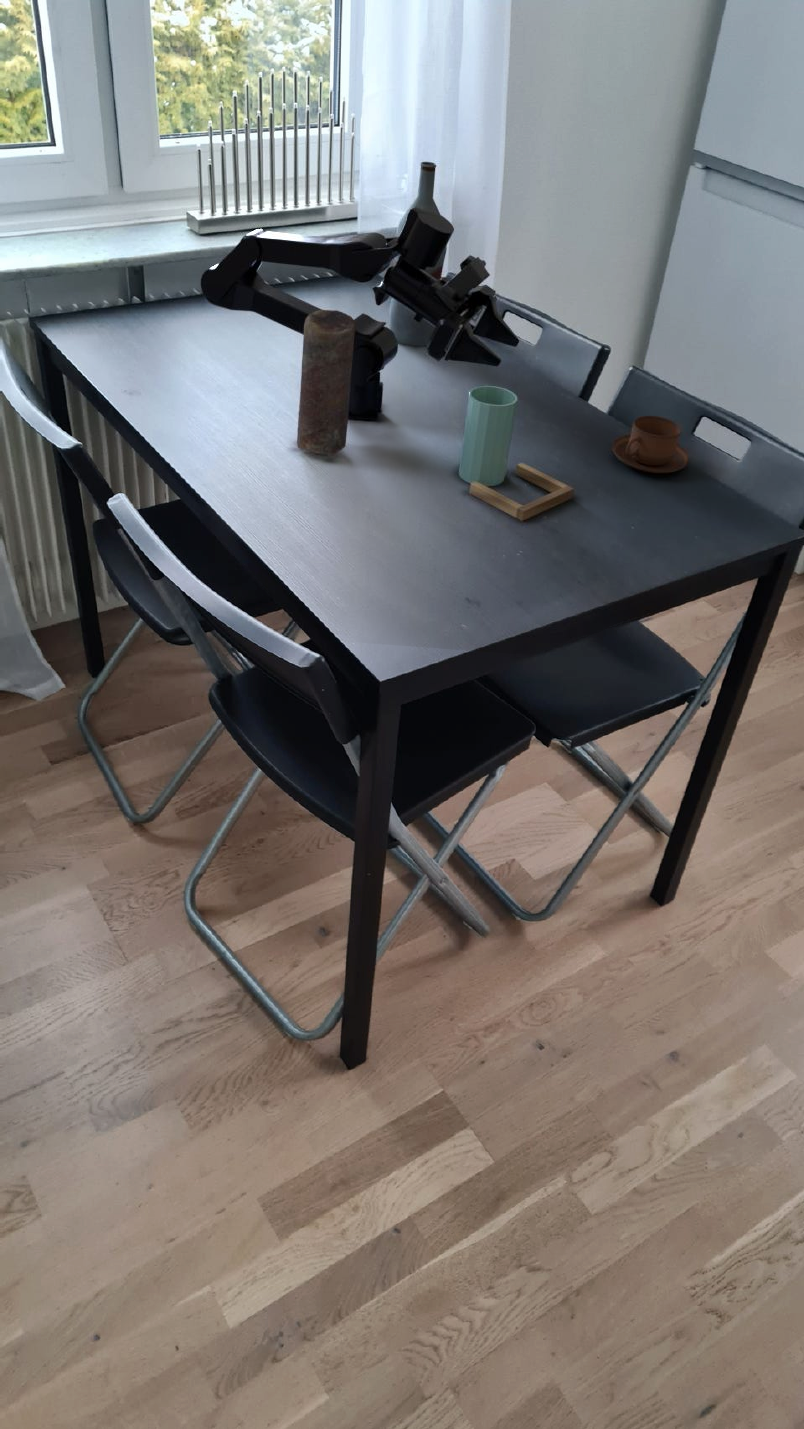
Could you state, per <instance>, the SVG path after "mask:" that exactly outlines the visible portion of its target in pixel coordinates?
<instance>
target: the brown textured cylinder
mask: <svg viewBox="0 0 804 1429" xmlns="http://www.w3.org/2000/svg"><path fill="white" fill-rule="evenodd" d="M354 319H355V318H353V317H352V316H351V315H348V314H347V313H345V312H343V311H340V310H338V309H335V310H334V309H332V310H331V309H322V310H320V311H315V312H313V313H312V314H309V315H308V317H307V318H306V320H305V324H304V335H302V337H303V338H302V340H303V341H302V357H301V372H300V373H301V374H300V390H299V391H300V392H299V406H298V417H297V418H298V419H297V432H296V433H297V434H296V446H297V448H298V449H299V450H300V451H303V452H306V453H307V452H308V453H312V454H315V455H316V456H321V457H328V456H330V455H335V454H337V453H338V452H340V451H342V450H343V449H345V448H346V445H347V435H348V434H347V433H348V424H349V423H348V422H349V418H348V410H349V397H350V383H351V369H352V358H353V346H354V334H355V322H354Z"/></svg>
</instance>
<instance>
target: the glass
mask: <svg viewBox="0 0 804 1429" xmlns="http://www.w3.org/2000/svg"><path fill="white" fill-rule="evenodd" d="M518 399H519V398H518V395H517V394H516V393H514V392H513V391H511V390H510V389H507V388H504V387H500V386H494V385H481V386H476V387H472V388H471V389H470V390H469V391H468V397H467V404H466V411H465V420H464V426H463V436H462V442H461V451H460V458H459V465H458V476H459V478H461V479H462V480H463V481H464V482H466V483H468V484H470V485H471V483H473V482H475V481H477V482H479V483H480V484H482V485H484V486H486V487H495V486H498V485H500V484H502V483H503V482H504V481H505V478H506V475H507V468H508V463H509V462H508V461H509V457H510V456H509V455H510V451H511V450H510V449H511V443H512V437H513V432H514V424H515V418H516V413H517V405H518V401H519V400H518Z"/></svg>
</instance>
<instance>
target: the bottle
mask: <svg viewBox="0 0 804 1429" xmlns="http://www.w3.org/2000/svg"><path fill="white" fill-rule="evenodd" d="M419 165H420V168H419V178H418V179H419V180H418V188H417V196H416V197H415V199H414V200H413V202H412V203H411V204H410V206H409V207H408V209H407V210H406V212H405V213H404V214H403V216H402V218H400V220H399V222H398V225H397V228H396V234H395V237H399V236H400V233H401V231H402V229H403V227H404V225H405V223H406V218H407V215H408V213H409V211H410V209H412V208H414V207H416V206H417V207H418V208H420V209H421V210H426V211H430V212H433V213H435V214H437V215H438V214H440V215H441V213H440V210H439V208H438V206H437V204H436V201H435V199H434V191H435V179H436V169H437V164H436V163H435V162H432V161H421V162H420V164H419ZM447 247H448V245H447V246H446V248H445V250H444V252H443V254H442V256H441V258H440V260H439V262H438V264H437V265H436V267H428V268H427V269H426V270H423V271H425V272H426V273H428V274H429V275H431V276H432V277H434V278H435V279H436V280H438V279H440V278H441V277H442V275H443V269H444V263H445V259H446V255H447V251H448V250H447V249H448V248H447ZM400 255H401V254H400ZM400 255H398V256H397V257H395V258H394V266H395V265H396V263H397V261H398V259H399V257H400ZM389 305H390V306H389V310H388V328H389V329H390V330H392V331H393V332H394V334H395V337H396V339H397V343H398V344H402V345H406V346H413V347H420V346H422V347H423V346H426V345H427V343H428V341H429V339H430V337H431V335H432V333H433V331H434V329H435V327H434V326H432V325H431V324H429V323H428V322H426V321H425V320H424V319H423V320H422V321H421V322H420V323H419V322H417V321H416V320H414V317H415V315H416V314H415V313H413V312H412V311H410V310H409V309H407V308H406V307H404V306H403V305H402V304H400V303H399V302H397V301H396V300H394V299H393V298H391V300H390V304H389Z"/></svg>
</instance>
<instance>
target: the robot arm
mask: <svg viewBox="0 0 804 1429" xmlns="http://www.w3.org/2000/svg"><path fill="white" fill-rule="evenodd" d="M454 231H455V228H454V226H453V224H452V222H450V221H449V220H448V219H447V218H446V217H445V216H443V215H442V214H441V213H440V214H438V215H437V214H435V213H433V212H430V211H426V210H421V209H420V208H418V207H417V206H416V207H414V208H412V209H410V211H409V213H408V215H407V218H406V223H405V225H404V227H403V229H402V231H401V233H400V236H399V237H396V236H392V237H391V236H390V237H386V236H385V235H383V234H381V233H379V232H372V231H371V232H364V233H363V232H362V233H354V234H350V235H344V236H337V237H326V236H318V235H317V236H316V235H305V234H297V233H285V232H275V231H268V230H265V229H262V228H260V229H259V228H258V229H255V230H253V231H251V232H249V233H247V234H245V235H244V236H242V238H241V239H240V241H239V242H238V243H237V245H236V246H235V247H234V248H233V249H232V250H231V251H230V252H229V253H228V254H227V255H226V256H224V258H223V259H222V260H221V261H220V262H219V263H217V264H215V265H214V266H211V267H210V268H208V269H205V271H204V272H203V273H202V275H201V277H200V288H201V292H202V294H203V296H204V299H205V301H206V302H208V303H209V304H211V305H212V306H214V307H218V308H222V309H227V310H230V311H237V312H239V311H240V312H252V313H255V314H258V315H260V316H261V317H263V318H266V319H268V320H270V321H272V322H274V323H276V324H279V325H281V326H283V327H286V328H288V329H289V330H292V331H294V332H296V333H298V334H299V335H300V334H301V335H302V336H304V324H305V320H306V318H307V317H308V315H309V314H312V313H313V312H315V311H320V310H323V309H322V308H321V307H320V308H319V307H318V306H316V305H313V304H311V303H309V302H307V301H305V300H302V299H300V298H298V297H296V296H294V295H292V294H289V293H288V292H285V291H283V290H281V289H278V288H276V287H275V286H272V285H270V284H268V283H267V282H266V281H265V280H264V279H263V277H262V276H261V275H260V274H259V273H258V271H259V269H261V266H262V264H263V263H273V264H281V265H290V266H298V267H299V266H300V267H306V268H307V267H309V268H317V269H325V270H328V271H331V272H333V273H335V274H336V275H338V276H339V277H341V278H344V279H347V280H351V281H354V282H357V283H361V284H362V283H368V282H370V281H372V280H373V279H375V278H376V277H377V276H379V275H380V274H382V273H383V272H385V274H384V275H383V278H382V280H381V282H377V283H376V284H375V285H374V286H372V291H373V293H374V300H375V304H376V306H382V304H383V303H386V301H388V300H389V298H390V299H392V298H393V299H394V300H396V301H397V302H399V303H400V304H402V305H403V306H404V307H406V308H407V309H409V310H410V311H412V312H413V313H415V314H416V315H415V317H414V320H416V321H417V322H419V323H420V322H421V321H422V320H423V319H424V320H425V321H426V322H428V323H429V324H431V325H432V326H434V327H435V329H434V331H433V333H432V335H431V337H430V339H429V341H428V343H427V345H425V348H426V351H427V356H430V357H431V358H432V359H434V360H435V361H437V362H441V360H442V359H443V361H445V362H448V361H451V362H453V361H454V362H461V363H462V362H463V363H471V364H478V365H484V366H491V367H499V366H500V364H501V363H502V359H501V357H499V355H497V354H496V353H495V352H494V351H493V350H492V349H490V347H488V346H487V345H486V344H485V343H484V342H482V341H481V340H480V339H479V338H478V337H481V338H483V339H487V340H491V341H493V342H497V343H500V344H503V345H505V346H511V347H514V348H515V347H517V346H518V345H519V343H520V339H519V338H518V336H517V335H516V334H515V333H514V331H513V330H512V328H510V326H509V325H508V324H507V322H505V320H504V319H503V317H502V316H501V315H500V313H499V311H498V304H497V301H498V297H497V296H496V293H497V290H495V289H494V288H492V287H490V286H489V285H488V284H482V283H483V282H485V281H486V280H487V279H488V278H489V277H490V276H491V274H490V273H489V271H488V270H487V269H486V266H487V262H486V261H485V259H484V260H483V259H481V258H480V257H479V256H477V257H475V256H473V255H471V254H470V255H468V256H467V257H466V258H465V259H464V260H463V261H462V262H460V263H459V268H460V271H459V272H458V273H456V275H454V276H453V277H452V278H451V279H449V278H448V277H446V276H441V278H440V279H438V280H436V279H435V278H434V277H432V276H431V275H429V274H428V273H426V272H425V271H423V270H426V269H427V268H428V267H436V265H437V264H438V262H439V260H440V258H441V256H442V254H443V252H444V250H445V248H446V246H447V247H448V245H449V244H448V243H449V241H450V240H451V238H452V236H453V234H454ZM400 254H401V255H400ZM398 255H400V257H399V259H398V261H397V263H396V265H395V264H394V265H393V266H390V265H391V263H392V261H393V260H395V257H397V256H398ZM481 284H482V285H481ZM353 319H354V322H355V334H354V346H353V358H352V369H351V383H350V397H349V410H348V419H354V420H365V421H378V420H379V414H381V413H382V408H383V396H384V395H383V394H384V383H383V381H381V371H383V370H384V369H385V367H386V366H388V365H389V363H390V362H392V361H393V359H395V358H396V356H397V355H398V350H399V343H398V342H397V339H396V337H395V334H394V332H393V331H392V330H390V329H389V327H387V326H386V325H387V322H386V321H379V320H376V319H375V318H373V317H371V316H370V315H369V314H366V313H361V314H359V315H358V316H356V317H355V318H353ZM477 336H478V337H477Z"/></svg>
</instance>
